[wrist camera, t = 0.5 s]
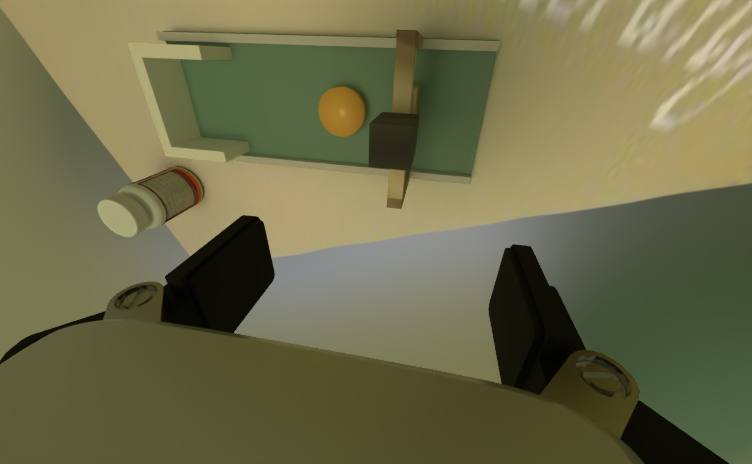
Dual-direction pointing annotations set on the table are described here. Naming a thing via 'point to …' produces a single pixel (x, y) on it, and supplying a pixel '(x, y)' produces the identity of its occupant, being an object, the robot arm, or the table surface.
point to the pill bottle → (151, 201)
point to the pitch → (310, 98)
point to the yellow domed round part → (342, 111)
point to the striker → (398, 121)
